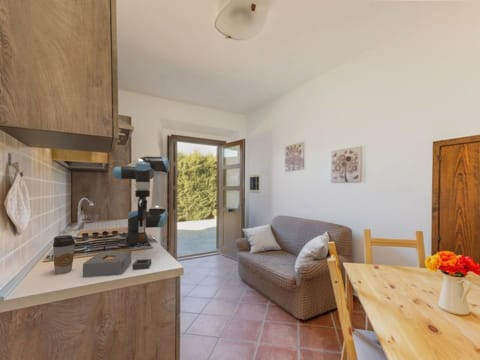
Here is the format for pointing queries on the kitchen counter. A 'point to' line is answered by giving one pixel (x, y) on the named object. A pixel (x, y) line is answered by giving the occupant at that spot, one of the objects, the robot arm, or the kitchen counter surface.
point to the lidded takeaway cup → (61, 238)
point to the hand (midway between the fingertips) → (142, 231)
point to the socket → (141, 264)
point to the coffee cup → (63, 255)
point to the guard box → (107, 264)
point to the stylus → (142, 234)
